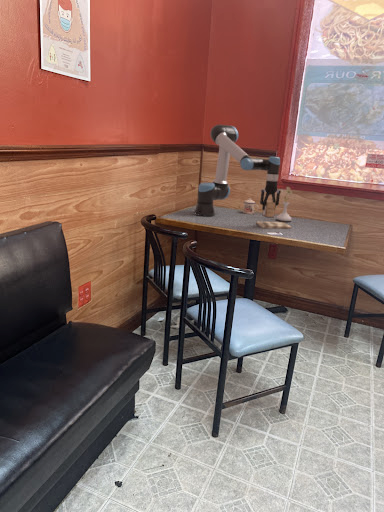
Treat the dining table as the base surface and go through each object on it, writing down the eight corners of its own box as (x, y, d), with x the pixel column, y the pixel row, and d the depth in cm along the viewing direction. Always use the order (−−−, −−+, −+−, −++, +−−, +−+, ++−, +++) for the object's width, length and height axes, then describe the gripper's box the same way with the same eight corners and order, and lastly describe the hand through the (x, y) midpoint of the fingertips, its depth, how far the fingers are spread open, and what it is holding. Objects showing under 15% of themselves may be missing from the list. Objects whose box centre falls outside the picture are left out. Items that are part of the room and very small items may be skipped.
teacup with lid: (241, 213, 315) (242, 198, 312) (244, 211, 323) (246, 197, 320) (256, 215, 311) (257, 200, 308) (258, 213, 319) (260, 198, 316)
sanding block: (273, 217, 267) (275, 203, 265) (266, 217, 267) (268, 202, 264) (269, 215, 276) (270, 201, 273) (262, 215, 275) (263, 200, 272)
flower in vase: (291, 223, 290) (296, 188, 283) (275, 221, 292) (280, 187, 284) (291, 219, 302) (295, 186, 295) (275, 218, 304) (280, 185, 297)
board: (262, 228, 266) (263, 225, 265) (256, 223, 279) (256, 221, 279) (291, 228, 269) (291, 226, 269) (283, 224, 283) (283, 222, 282)
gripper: (261, 180, 259) (257, 215, 266) (287, 181, 263) (282, 216, 269) (257, 179, 266) (253, 213, 273) (282, 180, 270) (278, 214, 276)
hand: (268, 215), depth 271 cm, fingers closed on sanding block, 5 cm apart
